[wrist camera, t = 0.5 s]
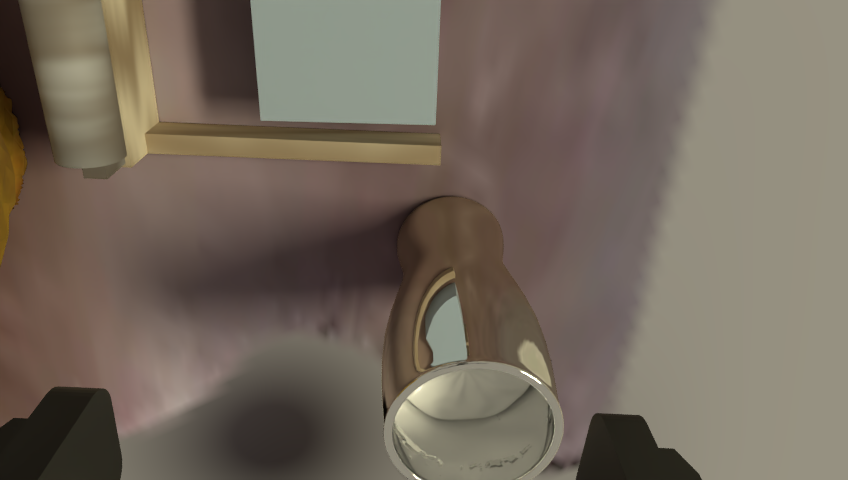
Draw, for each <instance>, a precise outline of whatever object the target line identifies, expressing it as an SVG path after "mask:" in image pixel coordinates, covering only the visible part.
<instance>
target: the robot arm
mask: <svg viewBox="0 0 848 480" xmlns="http://www.w3.org/2000/svg"><path fill="white" fill-rule="evenodd" d="M121 472H122V455H121V450H120V444H119V439H118V433H117V428H116V423H115V417H114V412H113V407H112V401H111V397H110V394H109V392H108V391H107V390H106V389H100V388H79V387H54V388H52V389H51V390H50V391H49V392H48V393H47V394H46V395H45V397H44V398H43V399H42V401H41V402H40V403H39V405H38V406H37V407H36V409H35V410H34V411H33V413H32V414H31V415H30V416H29V418H28V419H24V418H13V419H12V420H10V421H9V422H7V423H6V424H5V425H3V426H2V427H0V480H120V478H121ZM576 480H702V479H701V477H700V475H699V474H698V473H697V472H696V471H695V470H694V469H693V467H692V466H691V465H690V464H688V462H686V460H684V459H683V458H682V456H681V455H680V454H679V453H678V452H677V451H676V450H675V449H669V448H668V449H666V448H658V447H657V444H656V442H655V440H654V438H653V436H652V434H651V431H650V429H649V427H648V425H647V423H646V421H645V420H644V418H643V417H642V416H640V415H624V414H602V413H596V414H595V415H594V416H593V417H592V419H591V422H590V426H589V430H588V434H587V438H586V441H585V445H584V449H583V453H582V457H581V461H580V465H579V468H578V472H577V476H576Z"/></svg>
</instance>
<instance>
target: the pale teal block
mask: <svg viewBox="0 0 848 480" xmlns="http://www.w3.org/2000/svg"><path fill="white" fill-rule="evenodd" d="M250 2H251V14H252V26H253V37H254V49H255V60H256V72H257V84H258V95H259V107H260V118H261V121H295V122H334V123H374V124H413V125H436V103H437V79H438V55H439V30H440V6H441V0H250Z"/></svg>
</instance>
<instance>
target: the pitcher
mask: <svg viewBox="0 0 848 480" xmlns="http://www.w3.org/2000/svg"><path fill="white" fill-rule="evenodd" d="M4 93H5V91H4V90H3V89H2V88H1V87H0V266H1V262H2V258H3V254H4V250H5V246H6V243H7V239H8V234H9V214H10V212H11V210H12V209H14V205H17V204H18V203H17V201H19V199H18V196H19V194H20V192H21V190H20V189H22V188H23V187H22V186H21V185H22V184H24V183H23V182H22V181H24V180H23V179H22V175H24V173H25V170H26V167H27V159H26V157H25V152H24V151H23V148H24V146H23V143H22V140H21V138H20V137H19V131H18V130H17V129H18V128H19V125H18V124H17V117H16V116H15V115H13V114H12V101H11V99H10V98H7V97H6V96H5V94H4Z"/></svg>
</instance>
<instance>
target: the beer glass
mask: <svg viewBox="0 0 848 480" xmlns="http://www.w3.org/2000/svg"><path fill="white" fill-rule="evenodd" d="M503 252H504V240H503V234H502V230H501V227H500V224H499V223H498V221H497V219H496V218H495V216H494V215H493V214H492V213H491V212H490V211H489V210H488V209H487V208H485V207H484V206H483V205H481V204H479V203H478V202H475V201H473V200H470V199H467V198H463V197H455V196H449V197H440V198H436V199H433V200H430V201H428V202H426V203H424V204H422V205H420V206H419V207H417V208H416V209H415V210H414V211H413V212H412V213H411V214H410V215H409V216H408V217H407V218H406V220H405V221H404V223H403V225H402V227H401V229H400V231H399V235H398V239H397V254H398V259H399V262H400V265H401V268H402V271H403V274H404V275H403V279H402V282H401V285H400V287H399V290H398V292H397V295H396V298H395V301H394V303H393V306H392V309H391V312H390V316H389V319H388V323H387V327H386V331H385V336H384V344H383V353H382V380H381V381H382V403H383V416H384V428H383V437H384V443H385V448H386V451H387V453H388V455H389V457H390V459H391V461H392V463H393V464H394V465H395V467H396V468H397V469H398V470H399V471H400V472H401V473H402V474H403V475H404V476H405V477H406V478H407V479H409V480H531V479H533V478H534V477H536V476H537V475H538V474H539V473H540V472H542V471H543V470H544V469H545V468H546V467H547V466H548V464H549V463H550V462H551V461H552V459H553V458H554V456H555V454H556V453H557V451H558V449H559V447H560V444H561V441H562V437H563V430H564V420H563V414H562V410H561V407H560V405H559V400H558V394H557V388H556V383H555V378H554V373H553V368H552V363H551V359H550V355H549V352H548V348H547V344H546V341H545V338H544V335H543V332H542V330H541V327H540V324H539V322H538V319H537V317H536V315H535V313H534V311H533V309H532V307H531V305H530V304H529V302H528V300H527V298H526V296H525V295H524V293H523V292H522V290H521V289H520V287H519V286H518V284H517V283H516V281H515V280H514V278H513V277H512V276H511V274H510V273H509V271H508V270H507V268H506V267H505V265H504V264H503Z"/></svg>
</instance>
